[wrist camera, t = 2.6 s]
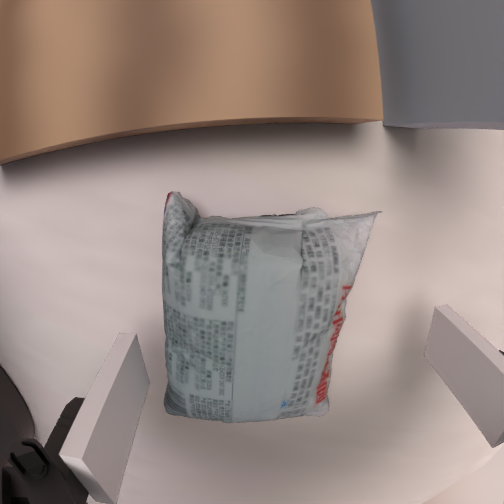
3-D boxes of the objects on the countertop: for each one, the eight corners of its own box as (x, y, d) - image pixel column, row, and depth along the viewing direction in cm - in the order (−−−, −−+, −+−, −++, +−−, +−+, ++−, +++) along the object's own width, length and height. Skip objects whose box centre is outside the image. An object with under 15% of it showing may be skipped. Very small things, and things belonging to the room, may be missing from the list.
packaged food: (359, 201, 15) (409, 226, 10) (316, 394, 19) (335, 454, 14) (172, 184, 14) (143, 203, 9) (174, 388, 18) (161, 451, 13)
